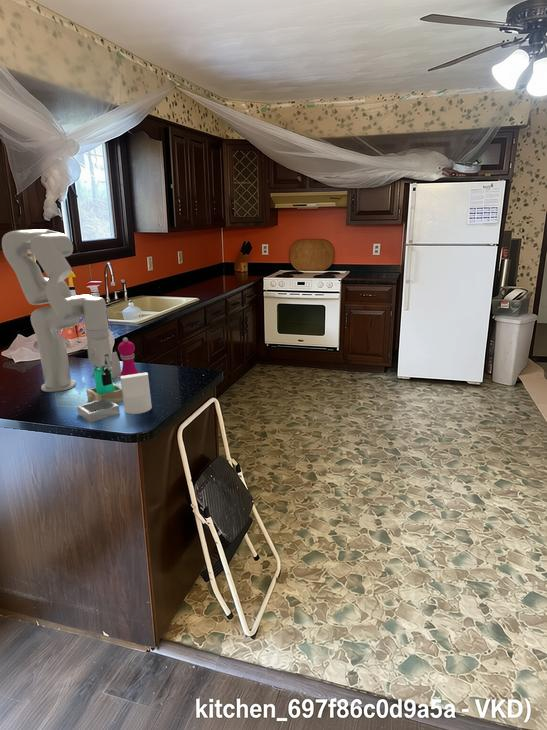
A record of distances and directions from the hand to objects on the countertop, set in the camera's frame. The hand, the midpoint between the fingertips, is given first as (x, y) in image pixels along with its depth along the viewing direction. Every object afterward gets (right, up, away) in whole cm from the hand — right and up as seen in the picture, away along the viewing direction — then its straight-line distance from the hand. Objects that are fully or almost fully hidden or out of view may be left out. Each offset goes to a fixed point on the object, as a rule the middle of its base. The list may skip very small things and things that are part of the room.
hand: (104, 382), depth 177 cm
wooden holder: (+2, -10, -11) cm, 15 cm away
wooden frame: (+1, -6, +2) cm, 7 cm away
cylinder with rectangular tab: (+14, -9, -8) cm, 18 cm away
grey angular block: (-6, +1, +27) cm, 28 cm away
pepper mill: (+6, -3, +13) cm, 15 cm away
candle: (0, -5, +2) cm, 6 cm away
